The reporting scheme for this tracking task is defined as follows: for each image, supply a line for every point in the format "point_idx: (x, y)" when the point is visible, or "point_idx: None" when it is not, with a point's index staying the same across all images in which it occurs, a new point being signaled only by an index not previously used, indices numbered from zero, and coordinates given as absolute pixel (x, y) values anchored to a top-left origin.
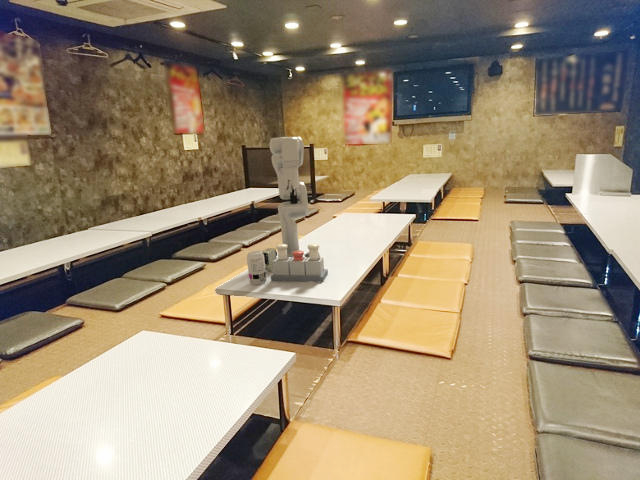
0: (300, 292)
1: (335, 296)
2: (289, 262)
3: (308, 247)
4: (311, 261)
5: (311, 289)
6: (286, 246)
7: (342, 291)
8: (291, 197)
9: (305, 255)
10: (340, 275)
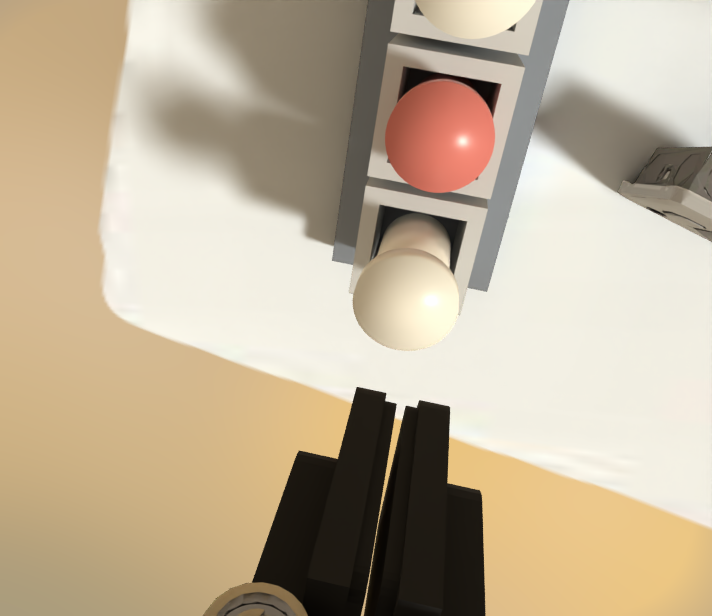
0: (172, 123)
1: (131, 302)
2: (388, 45)
3: (376, 261)
4: (358, 234)
5: (220, 185)
6: (443, 31)
7: (195, 335)
8: (263, 564)
9: (703, 155)
10: (442, 343)
